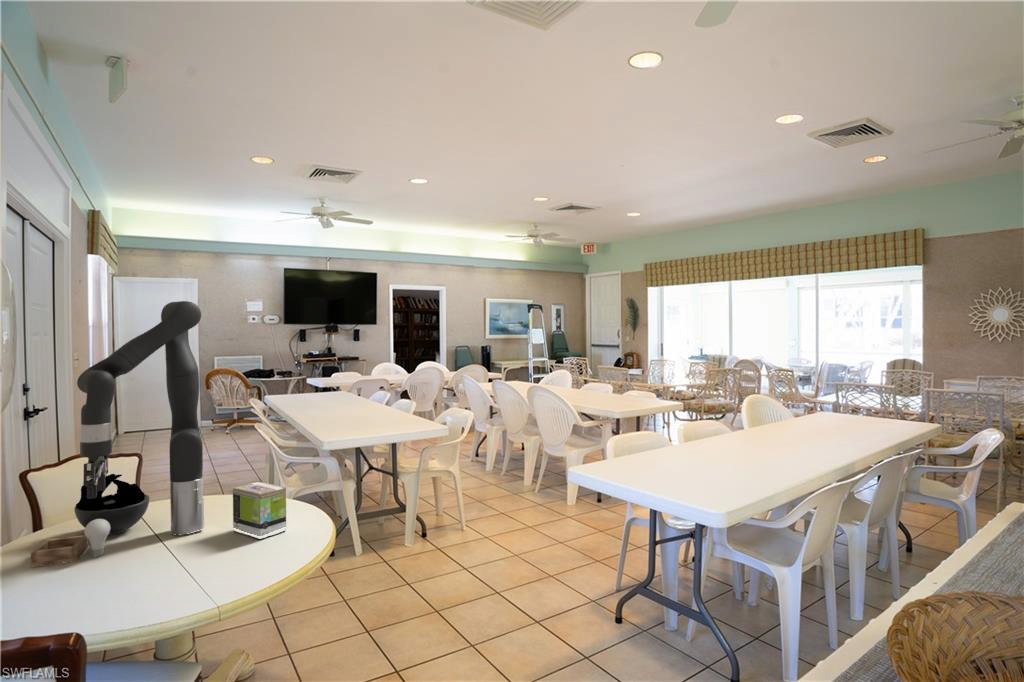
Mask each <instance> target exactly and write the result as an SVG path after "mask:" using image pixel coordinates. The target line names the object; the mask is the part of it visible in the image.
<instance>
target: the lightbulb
mask: <svg viewBox="0 0 1024 682" xmlns="http://www.w3.org/2000/svg"><path fill="white" fill-rule="evenodd" d="M110 529H111V527H110V524H109V522H108V521H106V520H104V519H95V520H93V521H91V522H90V523H88V525H87V526H86V528H85V527H84V535H85V536H86V537H87V539H88V542H89V543H90V544H89V545H90V548H91V550H92V556H93V557H96V558H99V557H101V556H102V555H103V554H104V549H105V548H104V547H105V543H106V540H107V538H108V535H110V534H109V532H110Z"/></svg>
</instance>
